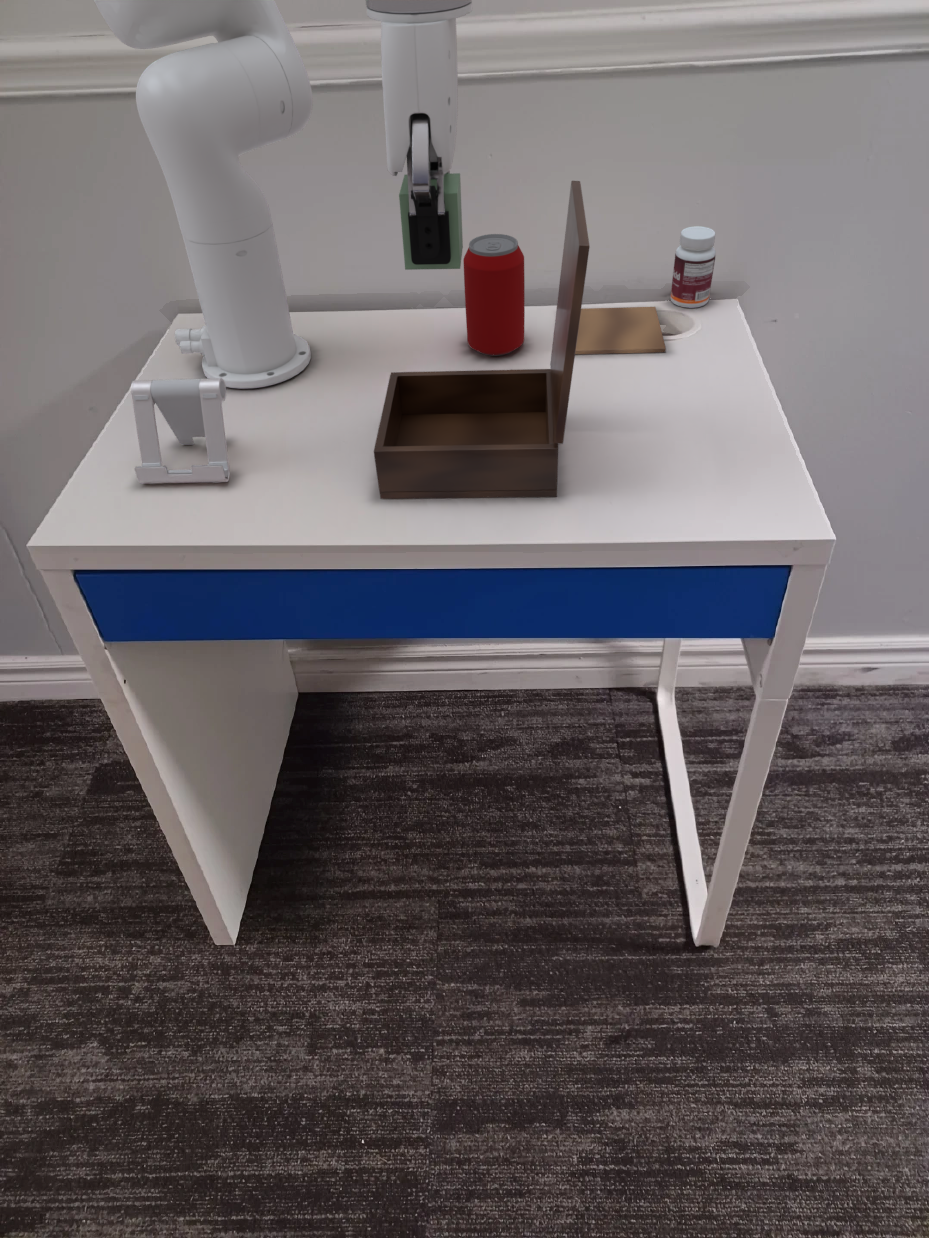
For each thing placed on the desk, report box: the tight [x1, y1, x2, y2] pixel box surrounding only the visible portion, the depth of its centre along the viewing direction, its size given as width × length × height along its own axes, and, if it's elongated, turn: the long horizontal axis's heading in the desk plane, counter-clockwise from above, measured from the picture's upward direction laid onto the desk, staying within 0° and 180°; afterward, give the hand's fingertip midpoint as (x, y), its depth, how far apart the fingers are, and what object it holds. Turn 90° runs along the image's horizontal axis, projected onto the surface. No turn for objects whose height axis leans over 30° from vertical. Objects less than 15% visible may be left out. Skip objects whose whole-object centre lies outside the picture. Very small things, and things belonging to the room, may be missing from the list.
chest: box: [373, 368, 559, 500], centre depth 87 cm, size 17×15×5 cm
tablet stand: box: [130, 377, 231, 485], centre depth 87 cm, size 9×8×8 cm
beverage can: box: [463, 233, 526, 357], centre depth 101 cm, size 7×7×12 cm
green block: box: [398, 172, 464, 271], centre depth 73 cm, size 5×5×6 cm
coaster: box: [575, 306, 667, 355], centre depth 106 cm, size 11×11×1 cm
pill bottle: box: [670, 225, 717, 309], centre depth 108 cm, size 5×5×8 cm
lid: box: [549, 180, 591, 445], centre depth 78 cm, size 17×15×1 cm
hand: (433, 247), depth 75 cm, fingers closed on green block, 4 cm apart
